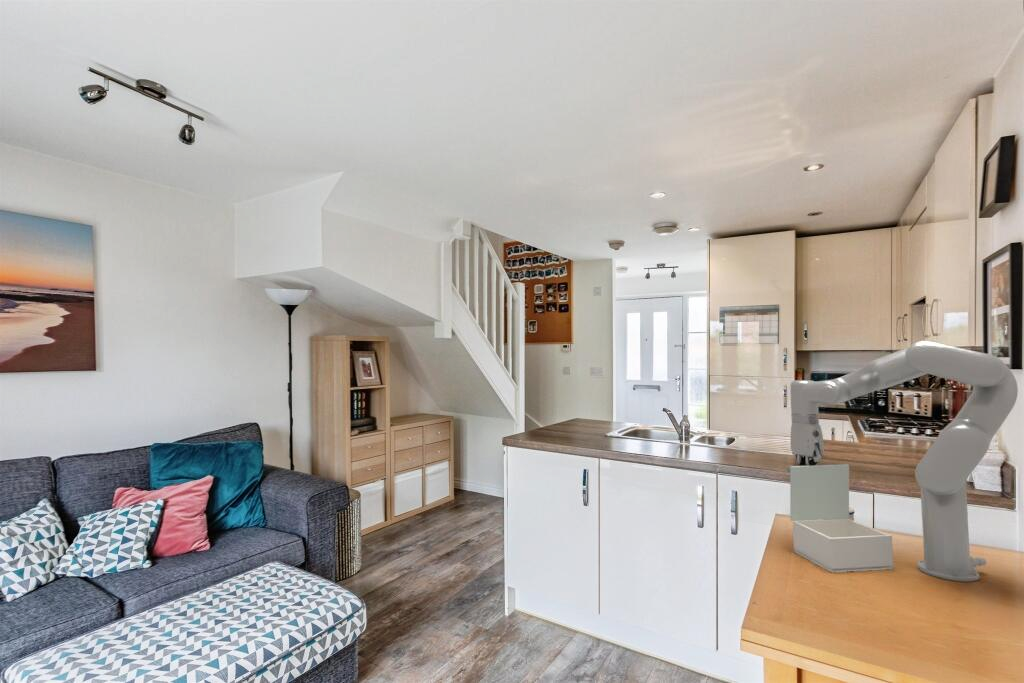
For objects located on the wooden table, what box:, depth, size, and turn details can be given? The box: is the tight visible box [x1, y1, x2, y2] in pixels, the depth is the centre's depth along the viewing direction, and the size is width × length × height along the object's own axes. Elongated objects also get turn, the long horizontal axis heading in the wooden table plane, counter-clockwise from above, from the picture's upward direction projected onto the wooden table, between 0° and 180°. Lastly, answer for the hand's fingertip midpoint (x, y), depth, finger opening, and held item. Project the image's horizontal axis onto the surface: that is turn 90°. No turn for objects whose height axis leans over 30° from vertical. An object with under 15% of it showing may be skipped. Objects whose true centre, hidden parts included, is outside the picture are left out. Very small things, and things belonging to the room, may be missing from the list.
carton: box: [792, 519, 894, 574], centre depth 147 cm, size 18×16×9 cm
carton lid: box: [786, 463, 850, 522], centre depth 159 cm, size 18×16×7 cm
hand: (807, 477), depth 161 cm, fingers closed on carton lid, 2 cm apart
